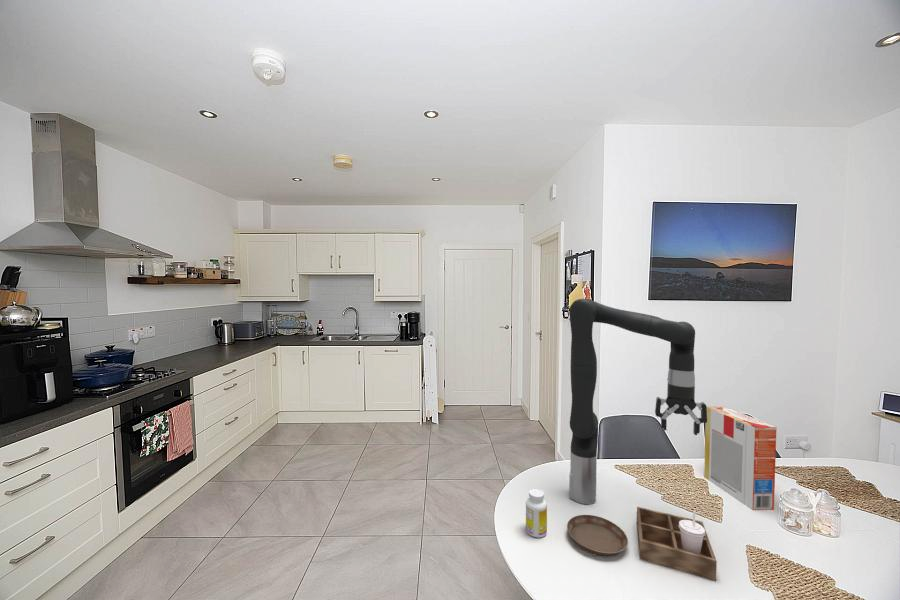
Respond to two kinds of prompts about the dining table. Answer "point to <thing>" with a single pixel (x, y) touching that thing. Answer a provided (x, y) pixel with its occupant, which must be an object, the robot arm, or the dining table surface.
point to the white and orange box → (741, 456)
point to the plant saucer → (597, 535)
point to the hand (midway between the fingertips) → (679, 431)
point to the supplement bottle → (536, 514)
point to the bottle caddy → (672, 544)
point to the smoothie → (691, 535)
